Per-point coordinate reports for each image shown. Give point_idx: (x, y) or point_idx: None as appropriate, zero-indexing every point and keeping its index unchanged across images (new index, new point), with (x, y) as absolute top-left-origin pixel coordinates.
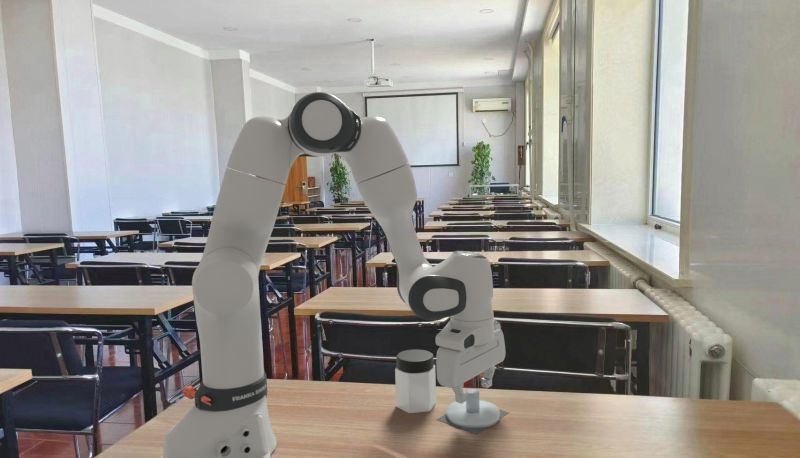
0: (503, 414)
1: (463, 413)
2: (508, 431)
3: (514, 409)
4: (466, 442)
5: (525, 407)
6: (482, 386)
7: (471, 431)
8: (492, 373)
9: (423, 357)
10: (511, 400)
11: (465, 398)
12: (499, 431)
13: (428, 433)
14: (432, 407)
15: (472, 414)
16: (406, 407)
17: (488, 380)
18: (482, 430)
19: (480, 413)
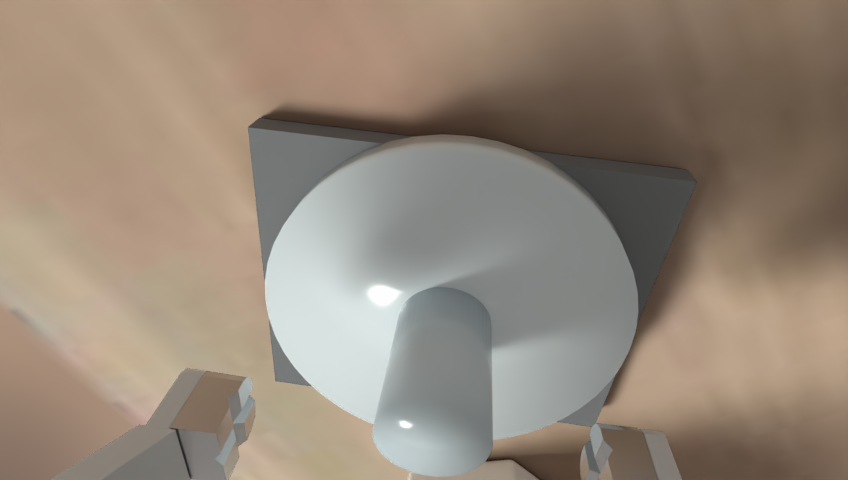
0: (302, 147)
1: (517, 352)
2: (479, 13)
3: (143, 127)
4: (771, 201)
5: (54, 71)
6: (254, 413)
7: (668, 227)
8: (107, 470)
9: None
10: (56, 196)
11: (625, 448)
12: (514, 75)
13: (721, 399)
14: (471, 476)
15: (502, 306)
16: None
17: (211, 432)
18: (621, 172)
19: (457, 271)
